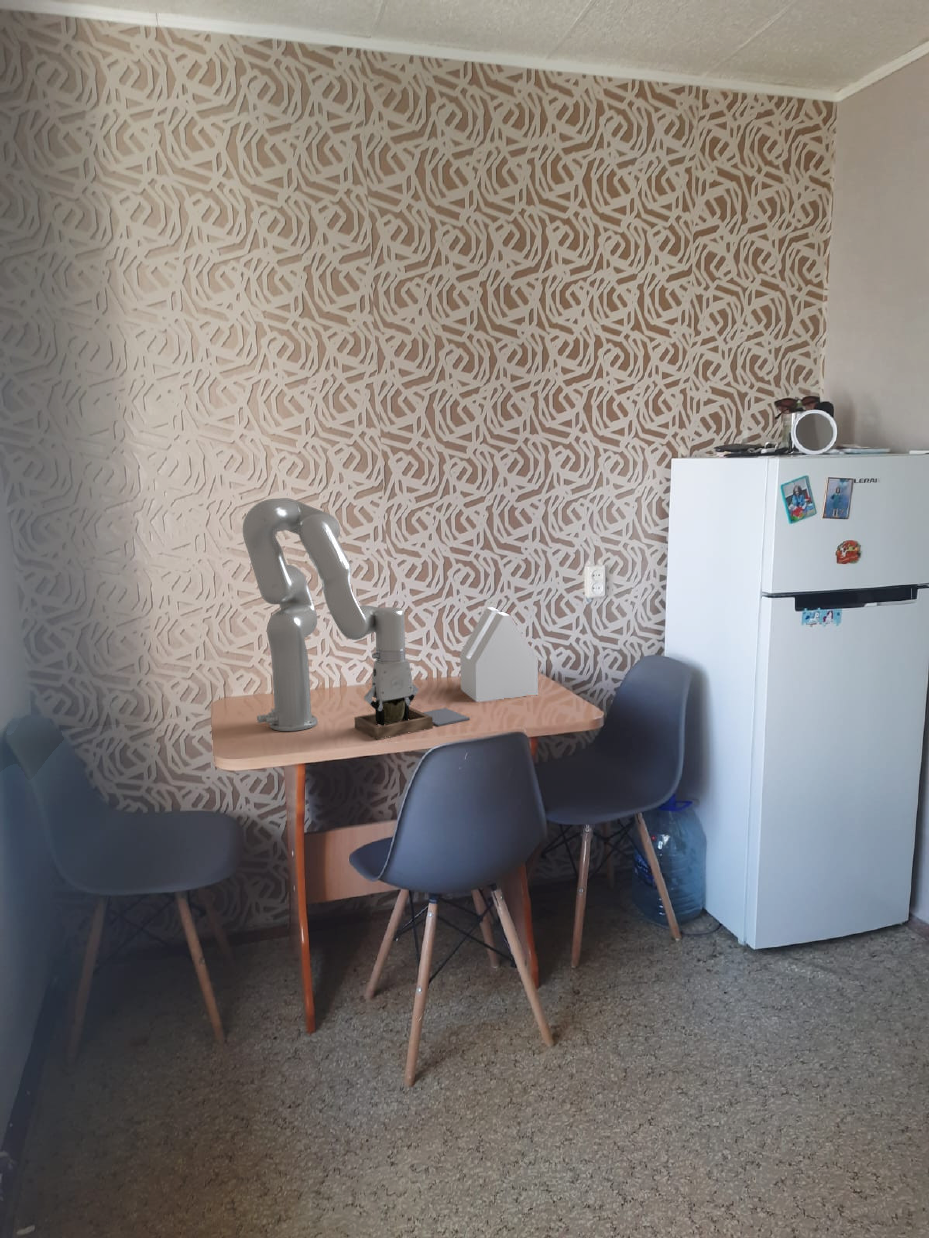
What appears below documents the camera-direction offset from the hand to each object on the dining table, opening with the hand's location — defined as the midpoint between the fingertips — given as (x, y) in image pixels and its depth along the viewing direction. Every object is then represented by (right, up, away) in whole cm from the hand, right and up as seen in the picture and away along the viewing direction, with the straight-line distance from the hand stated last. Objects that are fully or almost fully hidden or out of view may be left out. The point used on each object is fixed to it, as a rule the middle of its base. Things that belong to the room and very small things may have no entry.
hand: (392, 721), depth 221 cm
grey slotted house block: (+29, +4, +34) cm, 45 cm away
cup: (0, -2, 0) cm, 2 cm away
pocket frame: (0, -2, 0) cm, 2 cm away
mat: (+13, 0, +8) cm, 15 cm away
